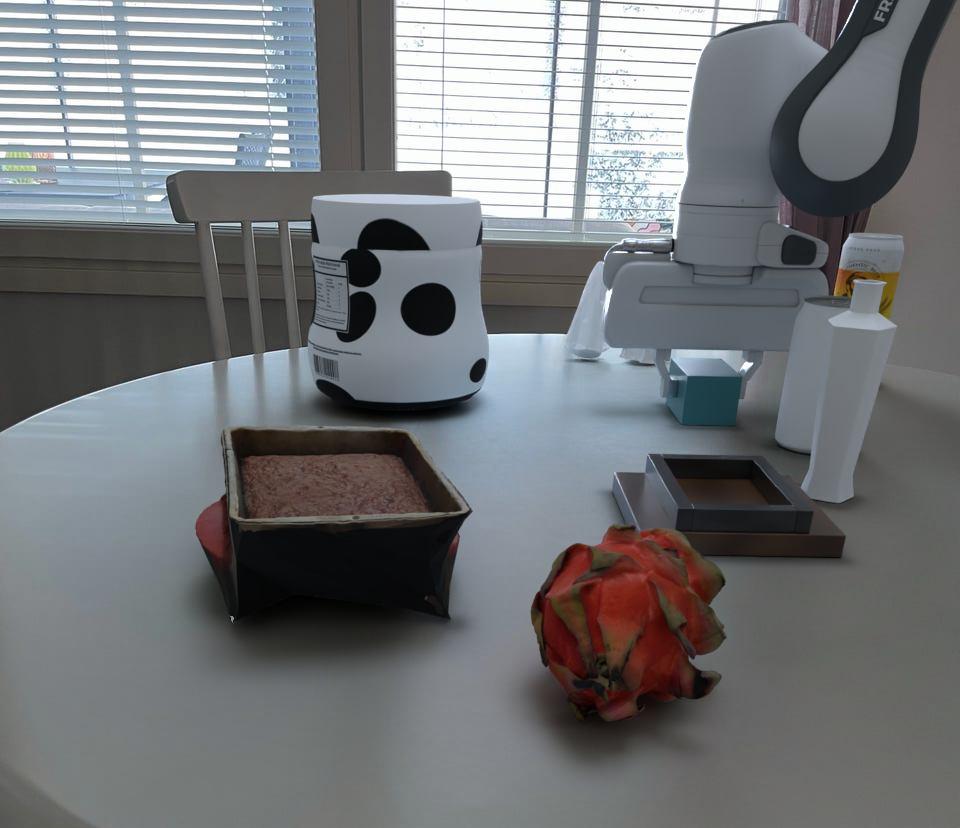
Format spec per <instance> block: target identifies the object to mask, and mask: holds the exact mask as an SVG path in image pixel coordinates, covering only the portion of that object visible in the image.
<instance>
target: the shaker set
mask: <svg viewBox="0 0 960 828" xmlns="http://www.w3.org/2000/svg"><path fill="white" fill-rule="evenodd" d="M603 264H604V261H602V260H599V261H597V262H596V263H595V265H594V267H593V268H592V270H591V272H590V274H589V276H588V278H587V281H586V283H585V286H584V288H583V291H582V294H581V296H580V299H579V303H578V306H577V308H576V310H575V313H574V316H573V318H572V321H571V323H570V326H569V329H568V331H567V334H566V336H565V338H564V340H563V345H564V347H565V348H566V349H567V350H568V352H569V353H570V354H571V355H573V356H575V357H578V358H581V359H597V358H599V357H601V355H602V353H604V352H606V351H608V350H609V349H610V348H611V347H610V346H609V345H608V344H607V343H606V342H605V341H604V340H603V338H602V336H601V333H600V327H601V319H602V312H603V307H604V301H605V297H606V292H607V289H606V287H605V285H604V283H603ZM619 358H620V359H624V360H629V361H630V360H633V361H638V362H639V363H640V364H650V365H655V363H654V361H653V359H652V349H635V348H621V351H620V353H619Z"/></svg>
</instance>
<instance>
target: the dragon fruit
mask: <svg viewBox="0 0 960 828" xmlns="http://www.w3.org/2000/svg"><path fill="white" fill-rule="evenodd" d="M636 528H637V527H635V526H634V525H626V523H625V524H623V523H613V524H611V525H609V527H608V528H607V531H606V532H605V533H604V535H603V537H602V541H601V543H598V544H595V545H588V544H585V543H581V542H576V543H573V544H571V545H569V546H568V547H567V548H565V549H564V550H563V551H561V552H560V553H559V554H558V556H557V557H556V558H555V559H554V561H553V562H552V565H551V570H550V572H549V573H548V575H547V577H546V579H545V581H544V582H543V584H541V586H540V589H539V590H538V591H537V592H536V594H535V595H534V597H533V601H532V603H531V606H530V620H531V625H532V627H533V631H534V633H535V635H536V641H537V644H538V650H539V655H540V659H541V664H542V665H543V666H544V668H548V669H549V671H550V672H551V674H552V675H553V677H555V678H556V680H557V681H558V682H559V684H560V686H561V687H562V688H563V690H564V691H565V692H566V693H567V694H568V695H567V697H566V698H567V699H566V700H567V703H568V704H569V705H570V707H571V710H572V712H573V713H574V714H575V718H576V719H578V720H580V721H582V723H585V724H587V719H588V714H592V713H598V715H599V717H601V718H602V719H603V720H604V721H606V722H607V723H611V722H614V721H617V720H618V722H621V721H622V720H629V721H631V720H633V719H635V717H636V716H637V715H638V716H640V715H641V712H642V711H644V709H645V706H646V705H647V703H642V704H640V706H639V703H637V699H638V697H639V696H642V695H643V694H645V695H646V696H645V695H644V697H646V698H647V697H648V698H650V699H651V700H653V701H654V702H656V703H657V704H666V703H669V702H672V701H675V700H676V699H678V700H682V699H688V700H701V699H703V698H706V697H708V696H709V695H710V694H711V693H712V691H713V690H714V689H715V687H716V686H718V685H719V683H720V682H721V680H722V676H723V675H722V674H721V673H719V672H717V671H715V670H702V669H699V668H698V667H696V666H695V665H694V664H693V663H692V662H691V661H690V659H691V660H695V659H696V656H705V655H708V654H711V653H713V652H715V651H717V650H718V649H720V647H721V646H722V644H723V643H724V642H725V640H726V639H727V634H726V633H725V630H724V628H725V625H724V624H723V623H722V622H721V621H720V619H719V618H718V617H717V615H716V612H715V610H714V608H713V607H712V606H710V605H711V604H712V602H713V600H715V598H716V597H717V596H718V595H719V593H720V592H721V591H722V589H723V588H724V587H725V586H726V582H727V580H726V578H725V575H724V573H723V571H722V570H721V568H720V567H719V566H718V565H717V564H716V563H715V562H714V561H712V560H710V559H706V558H705V555H702V554H701V553H700V552H698V551H696V550H695V549H693V548H692V547H691V545H690V543H689V541H688V540H687V537H686V536H685V535H683V534H682V533H680V532H679V531H677V530H676V529H666V528H650V529H647V530H644V531H641V532H640V533H639V532H638V531H637V530H636ZM621 719H622V720H621Z"/></svg>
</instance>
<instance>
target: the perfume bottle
mask: <svg viewBox="0 0 960 828" xmlns="http://www.w3.org/2000/svg"><path fill="white" fill-rule="evenodd" d="M853 282H854V284H855V285H854V290H853V295H852V300H851V305H850V310H848V311H846V312H844V313H841V314H839V315H837V316H835V317H832V318H830V319H828V323H827V331H826V339H825V347H824V355H823V363H822V371H821V379H820V387H819V395H818V403H817V411H816V419H815V427H814V435H813V443H812V451H811V454H810V457H809V458H810V460H809V468H808V470H807V473H806V474H805V477H804V479H803V481H802V484H801V485H800V488H801V489H802V490H803V491H804V492H805V493H806V494H807V495H808V496H809V497H810V498H811V499H812V500H817V501H822V502H828V503H833V504H840V503H841V504H842V503H843V502H845V501H847V500H849V499H852V498H854V497H855V494H854V493H855V492H854V478H853V477H854V473H855V470H856V467H857V463H858V460H859V456H860V453H861V449H862V445H863V443H864V438H865V436H866V433H867V429H868V426H869V422H870V419H871V416H872V413H873V409H874V406H875V402H876V400H877V396H878V392H879V389H880V386H881V382H882V379H883V376H884V372H885V369H886V365H887V362H888V358H889V356H890V352H891V348H892V345H893V342H894V338H895V336H896V332H897V328H898V325H897V324H895V323H894V322H893V321H891V320H890V319H889V320H888V319H887V318H885V317H884V316H882V315H881V314H880V313H878V311H879V306H880V302H881V297H882V292H883V288H884V286H885V285H886V284H887V282H882V281H876V280H853Z"/></svg>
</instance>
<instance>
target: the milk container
mask: <svg viewBox="0 0 960 828" xmlns="http://www.w3.org/2000/svg"><path fill="white" fill-rule="evenodd" d="M310 208H311V209H310V213H311V214H310V234H311V241H312V244H311V249H310V252H311V264H312V265H311V266H312V275H313V288H314V289H313V290H314V291H313V292H314V294H313V308H312V314H311V319H310V325H309V330H308V336H307V358H308V364H309V368H310V372H311V373H310V374H311V376H312V379H313V380H312V381H313V382H314V384H315V386H316V388H317V390H319V392H321V393H322V394H323V395H325V396H327V398H329V399H331V400H332V401H334V402H336V403H337V402H338V403H340V404H341V403H342V404H345V405H348V406H350V407H354V408H359V409H360V408H361V409H369V410H374V411H375V410H376V411H394V412H409V411H426V410H427V411H428V410H432V409H439V408H445V407H451V406H453V405H456V404H457V405H458V404H460V403H461V402H465V401H468V400H470V399H471V398H472V397H474V396H475V395H476V394H477V393H478V392H480V390H481V389H482V388H483V385H484V383H485V380H486V377H487V371H488V367H489V359H490V344H489V343H490V342H489V335H488V331H487V330H488V329H487V326H486V321H485V318H484V313H483V308H482V307H483V305H482V297H481V286H482V285H481V283H482V265H483V263H482V262H483V249H482V244H483V234H484V233H483V231H484V225H483V214H482V212H483V211H482V204H481V200H479V199H477V198H469V197H459V196H447V195H431V194H430V195H429V194H428V195H427V194H397V193H394V194H393V193H392V194H391V193H351V194H347V193H345V194H344V193H342V194H324V195H315V196H313V197H312V200H311V207H310Z"/></svg>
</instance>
